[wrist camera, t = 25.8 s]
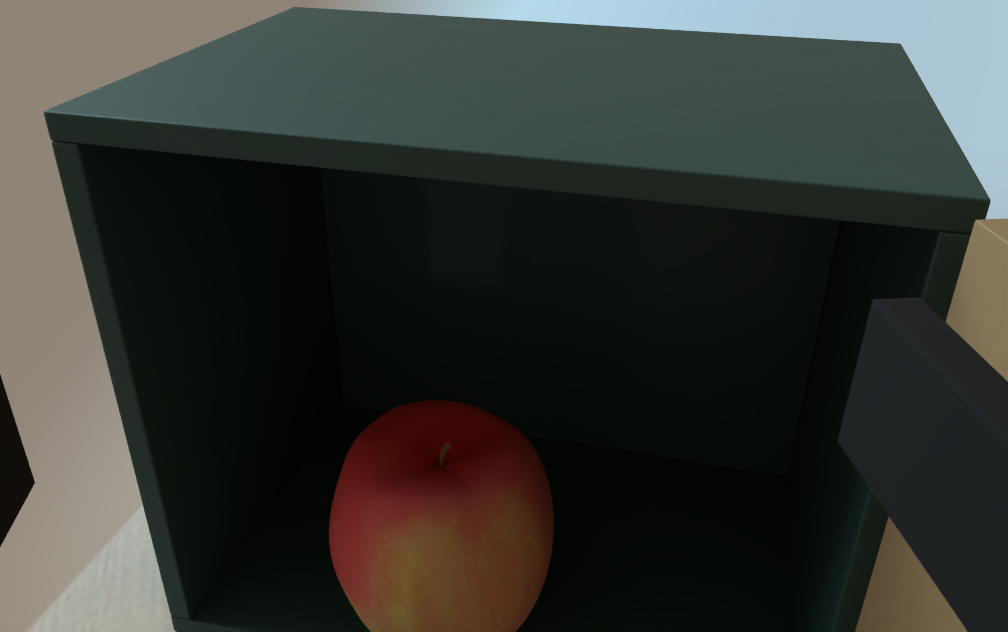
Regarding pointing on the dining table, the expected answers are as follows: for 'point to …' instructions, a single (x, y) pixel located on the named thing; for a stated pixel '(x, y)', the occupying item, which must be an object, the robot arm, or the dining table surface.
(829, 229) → the cupboard
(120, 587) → the dining table surface
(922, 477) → the robot arm
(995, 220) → the cupboard door
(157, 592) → the dining table surface
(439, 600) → the apple
